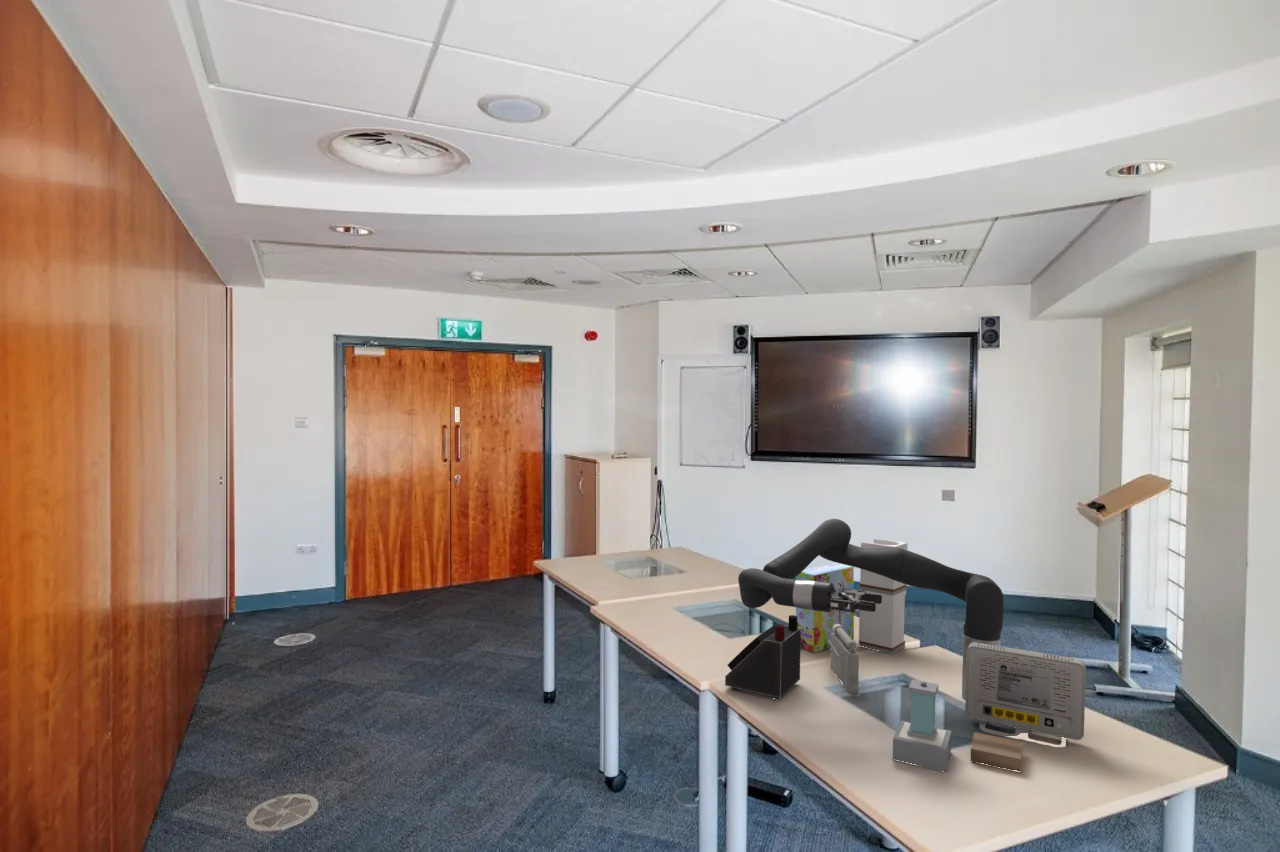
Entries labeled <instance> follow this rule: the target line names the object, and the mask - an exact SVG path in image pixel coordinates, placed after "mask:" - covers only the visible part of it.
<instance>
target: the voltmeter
mask: <svg viewBox="0 0 1280 852" xmlns="http://www.w3.org/2000/svg"><path fill="white" fill-rule="evenodd" d="M801 651H802V649H801V628H798V627H797V616H796V614H794V615H793V614H790V615H789V616H788V624H787V625H786V624H785V625H783V624H781V623H779V624H775V626H774V625H773V626H771V627H769V628H768V629H767V630H765V631H764V632H762V633H761V634H759V635H758V636H756V637H755V638H754V639H753V640H752V641H751V642H750V643H749V644H747V645H746V646H745V647H744V648H743V649H742V650H741V651H740V652H739V653H738V654H737V655H736V656H735V657H734V658H733V659H732V660H731V661H729V663H728V664H727V667H728V668H729V670H730V671H729V672H728V673H727V674H726V675H725V677H724V679H725V680H724V685H725V686H726V687H729V688H730V689H731V690H732V691H734V692H737V691H739V690H742V691H744V690H745V691H748V692H751V693H757V694H762V695H766V696H770V697H771V699H772V698H775V699H779V698H780V699H781V698H782V697H783V696H784V695H786V693H787V692H788V691H789V690H790V689H792V688H793V687H794V686H795V685H796V684H797V683H798V682H799V681H800V679H801ZM793 685H794V686H793ZM780 699H779V700H780Z"/></svg>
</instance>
